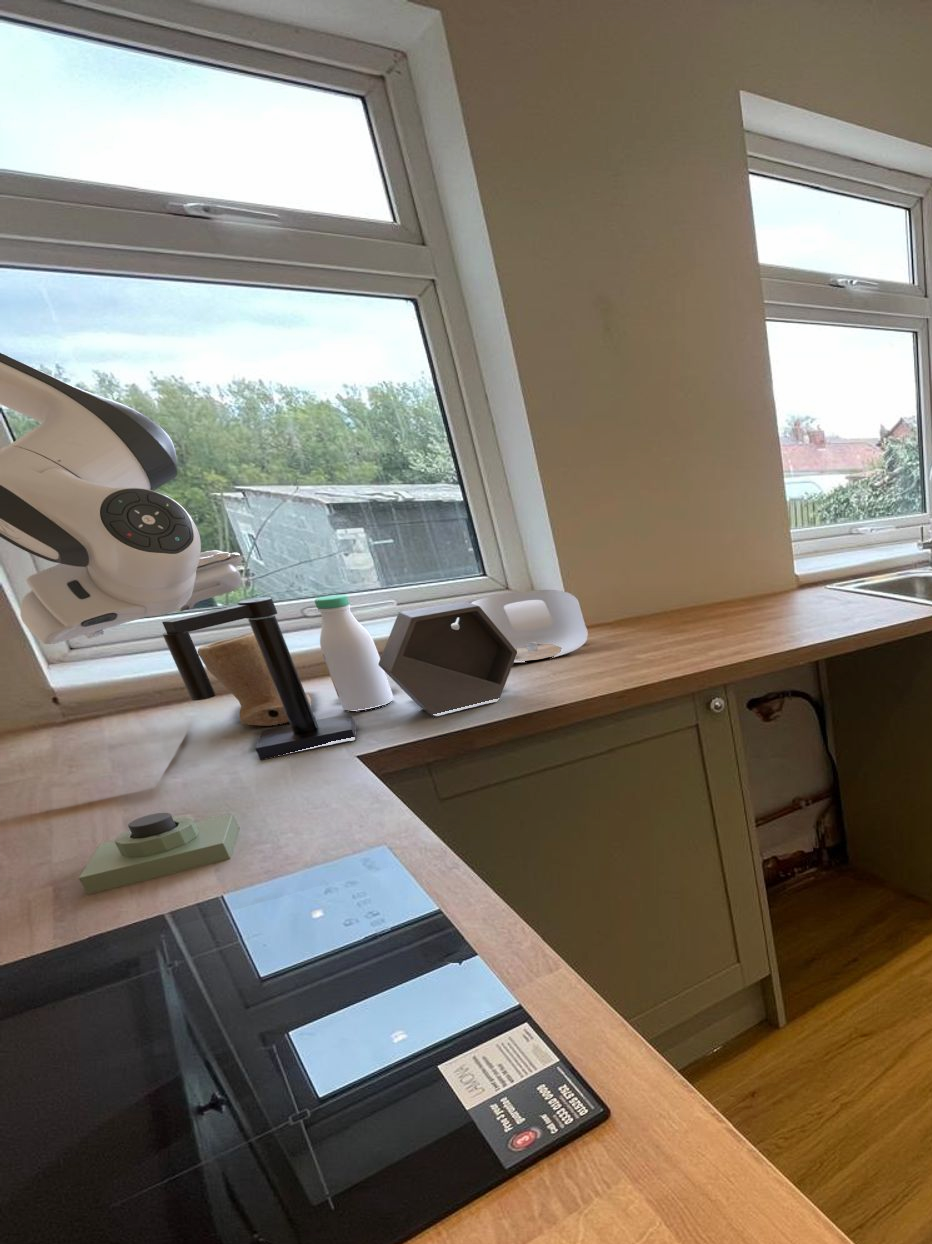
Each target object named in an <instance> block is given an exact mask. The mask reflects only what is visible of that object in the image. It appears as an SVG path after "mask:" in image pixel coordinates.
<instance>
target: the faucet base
mask: <svg viewBox="0 0 932 1244" xmlns="http://www.w3.org/2000/svg"><path fill="white" fill-rule="evenodd" d="M247 621H248V623H249V625H250V628H251V631H252V633H254V636H255V638H256V641H257V643H258V646H259V648H260V651H261V653H262V656H263V658H264V660H265V663H266V665H267V668H268V670H269V673H270V675H271V678H272V680H273V683H274V685H275V688H276V690H277V693H278V695H279V698H280V700H281V703H282V705H283V708H284V710H285V713H286V715H287V718H288V720H289V722H288V723H289V725H284V726H279V727H273V728H268V729H263V730H260V733H259V736H258V739H257V742H256V746H255V751H256V753H257V756H258V758H259V761H262V759H263V760H266V759H265V758H268V759H271V758H270V757H273V758H275V757H274V756H278V755H283V754H286V753H290V752H295V751H298V750H302V749H306V748H310V747H314V746H318V745H322V744H326V743H328V742H331V741H336V740H341V739H346V738H351V737H355V723H356V720H355V718H354V715H353V713H348V714H343V715H336V716H332V717H326V718H321V719H316V717H315V715H314V712H313V710H312V709H313V708H312V706H311V707H310V704H309V702H308V699H307V696H306V694H307V693H306V691H305V689H304V686H303V683H302V681H301V678H300V676H299V673H298V671H297V668H296V665H295V663H294V660H293V658H292V655H291V653H290V650H289V648H288V645H287V642H286V640H285V638H284V635H283V632H282V629H281V627H280V625H279V622H278V620H277V617H276V614H275V615H272V616H267V617H261V618H251V619H247ZM305 693H306V694H305ZM283 756H284V755H283ZM278 757H279V756H278Z"/></svg>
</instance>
